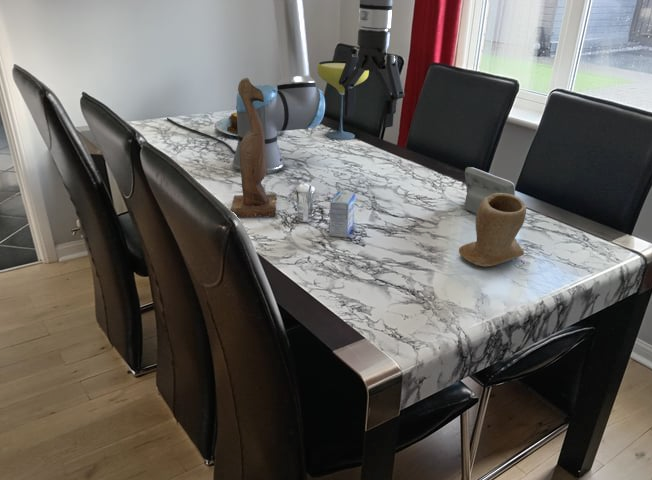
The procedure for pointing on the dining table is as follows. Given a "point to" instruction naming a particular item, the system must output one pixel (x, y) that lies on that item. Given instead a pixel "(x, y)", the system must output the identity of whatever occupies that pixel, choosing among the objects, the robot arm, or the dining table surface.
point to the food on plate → (228, 125)
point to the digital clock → (483, 187)
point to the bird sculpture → (253, 161)
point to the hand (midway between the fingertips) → (368, 121)
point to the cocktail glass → (331, 75)
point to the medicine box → (342, 214)
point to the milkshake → (305, 202)
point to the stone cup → (496, 230)
